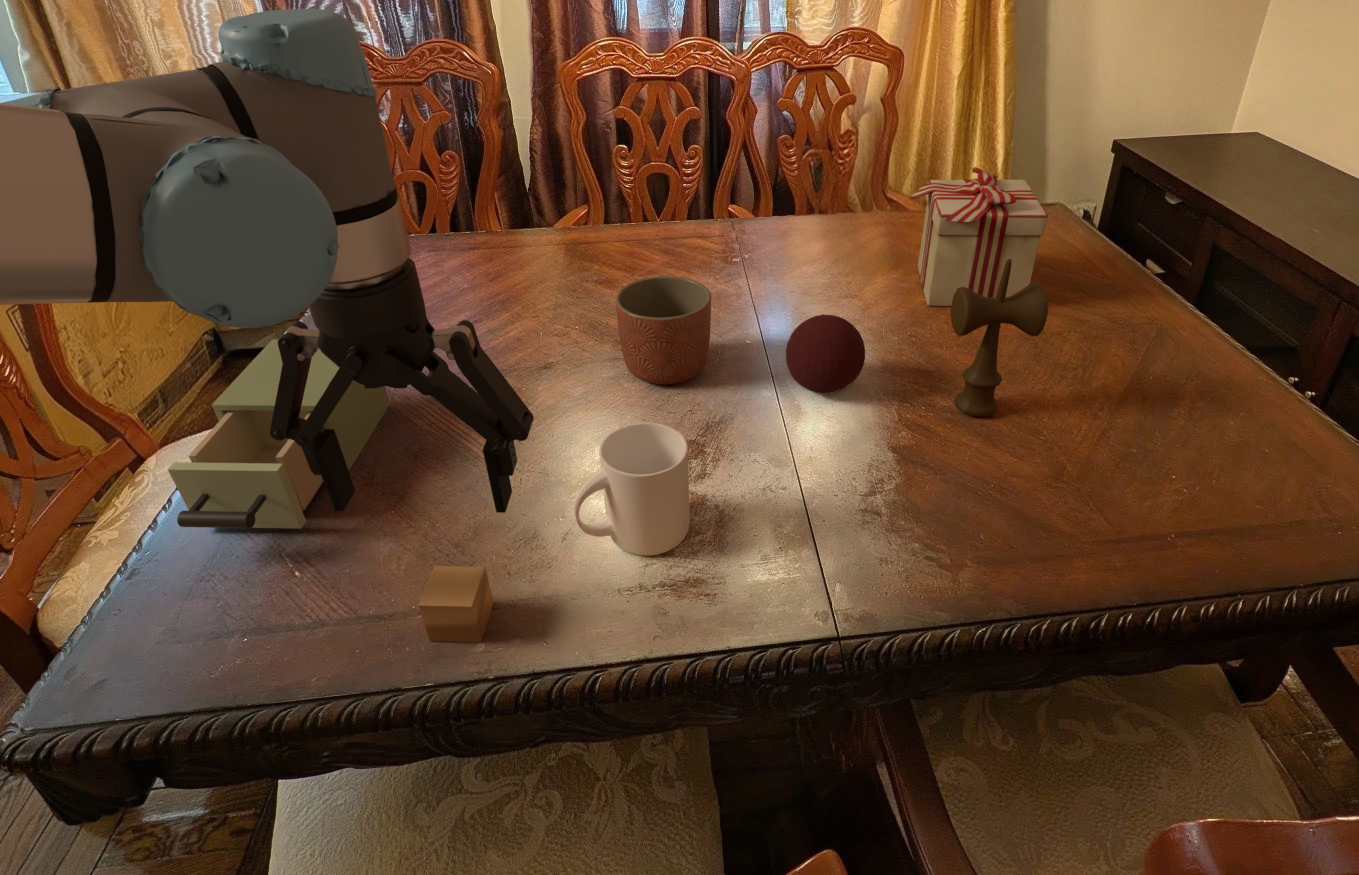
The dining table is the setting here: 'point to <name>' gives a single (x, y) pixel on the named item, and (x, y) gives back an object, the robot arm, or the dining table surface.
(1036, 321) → the kendama
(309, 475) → the drawer
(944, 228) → the gift box
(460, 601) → the block
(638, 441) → the mug
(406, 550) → the dining table surface
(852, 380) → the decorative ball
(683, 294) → the planter
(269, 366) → the cabinet
